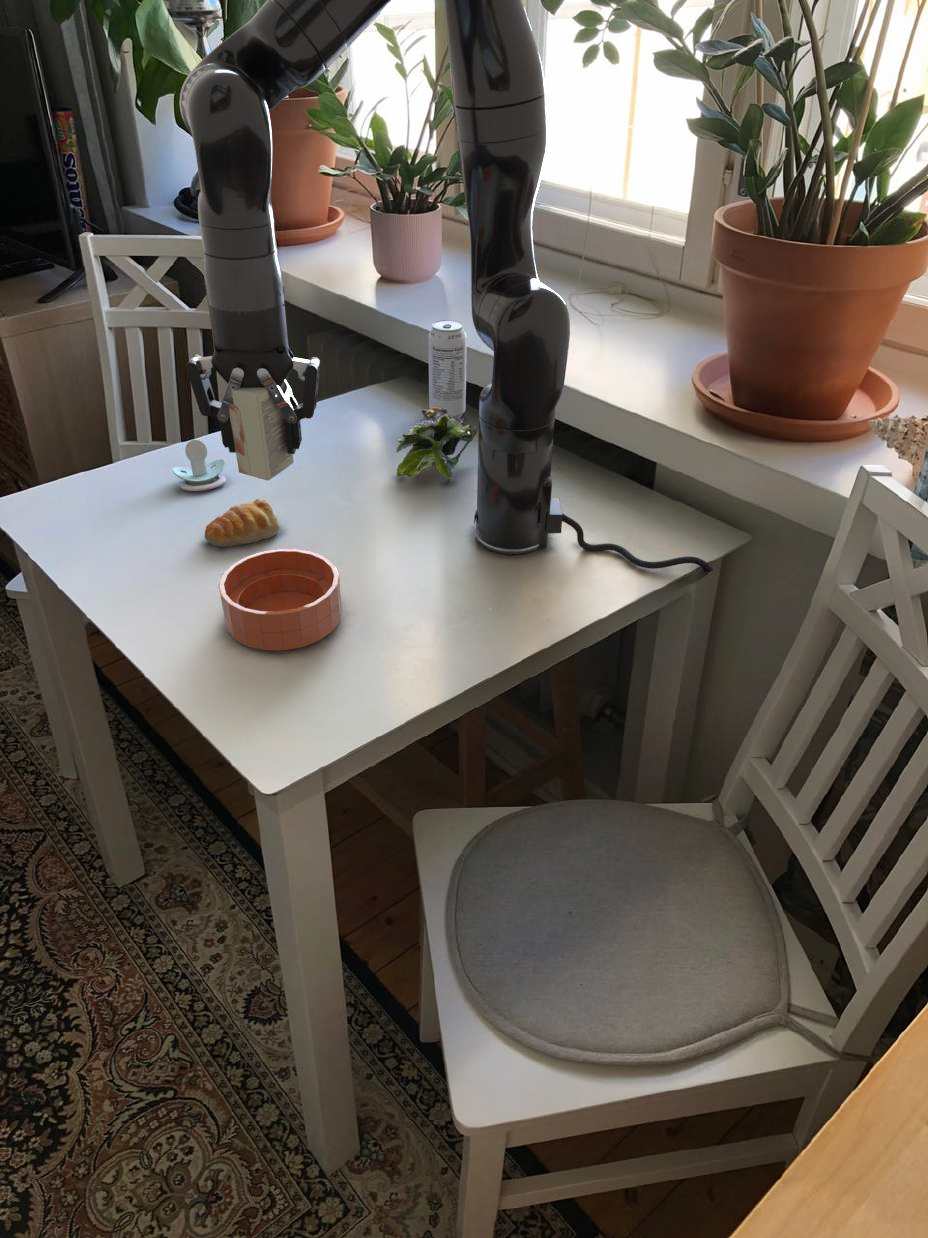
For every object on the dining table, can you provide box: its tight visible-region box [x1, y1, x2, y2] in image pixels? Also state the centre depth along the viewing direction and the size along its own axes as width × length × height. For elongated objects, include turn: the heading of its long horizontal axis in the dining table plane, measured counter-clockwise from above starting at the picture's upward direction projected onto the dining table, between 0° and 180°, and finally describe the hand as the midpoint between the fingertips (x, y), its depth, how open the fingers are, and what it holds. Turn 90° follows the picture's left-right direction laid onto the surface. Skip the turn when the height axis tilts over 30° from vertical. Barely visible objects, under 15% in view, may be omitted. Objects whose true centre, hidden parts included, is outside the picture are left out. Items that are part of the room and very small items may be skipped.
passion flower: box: [395, 407, 478, 485], centre depth 135 cm, size 11×11×12 cm
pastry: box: [204, 498, 281, 548], centre depth 121 cm, size 9×7×4 cm
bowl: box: [218, 548, 343, 651], centre depth 106 cm, size 13×13×6 cm
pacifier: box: [172, 438, 227, 492], centre depth 132 cm, size 7×6×6 cm
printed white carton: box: [225, 382, 295, 482], centre depth 101 cm, size 5×4×10 cm
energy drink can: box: [428, 319, 468, 419], centre depth 150 cm, size 6×6×15 cm
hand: (263, 449), depth 103 cm, fingers closed on printed white carton, 5 cm apart
